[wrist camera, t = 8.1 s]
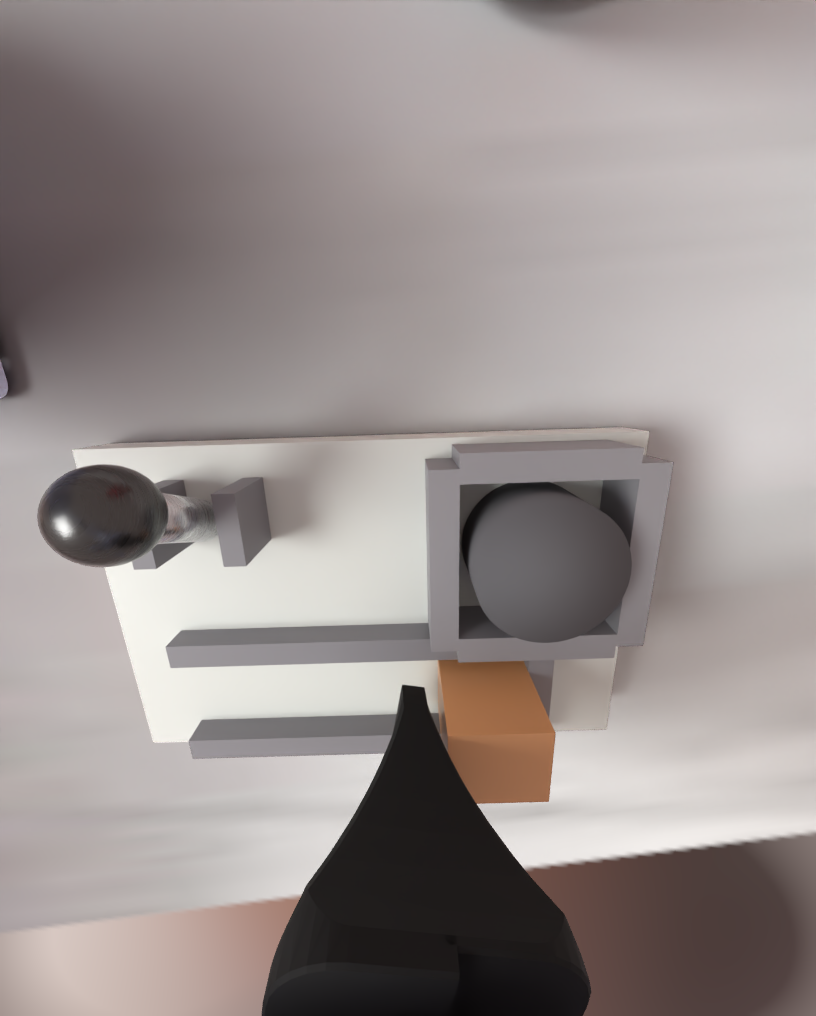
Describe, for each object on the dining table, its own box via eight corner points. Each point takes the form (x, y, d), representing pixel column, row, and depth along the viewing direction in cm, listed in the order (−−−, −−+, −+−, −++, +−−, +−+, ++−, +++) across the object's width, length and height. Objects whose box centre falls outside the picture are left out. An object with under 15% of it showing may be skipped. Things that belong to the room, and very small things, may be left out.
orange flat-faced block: (437, 652, 13) (447, 736, 10) (518, 649, 13) (555, 733, 10) (438, 708, 14) (447, 804, 11) (515, 706, 14) (548, 801, 11)
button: (462, 481, 12) (476, 503, 9) (595, 477, 12) (642, 497, 9) (460, 599, 13) (473, 645, 10) (582, 595, 13) (621, 640, 10)
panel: (109, 443, 13) (3, 461, 9) (622, 427, 13) (700, 438, 9) (176, 711, 16) (115, 795, 13) (587, 699, 16) (637, 781, 12)
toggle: (180, 489, 12) (5, 456, 7) (246, 487, 12) (121, 453, 7) (179, 555, 11) (1, 573, 6) (246, 553, 11) (119, 570, 6)
